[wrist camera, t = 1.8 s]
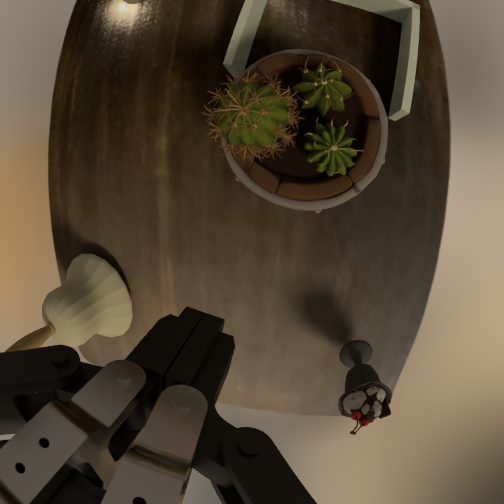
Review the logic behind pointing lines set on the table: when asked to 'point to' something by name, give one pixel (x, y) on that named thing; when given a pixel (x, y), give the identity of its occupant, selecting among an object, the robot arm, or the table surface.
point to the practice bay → (383, 3)
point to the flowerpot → (302, 129)
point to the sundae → (362, 387)
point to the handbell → (83, 306)
